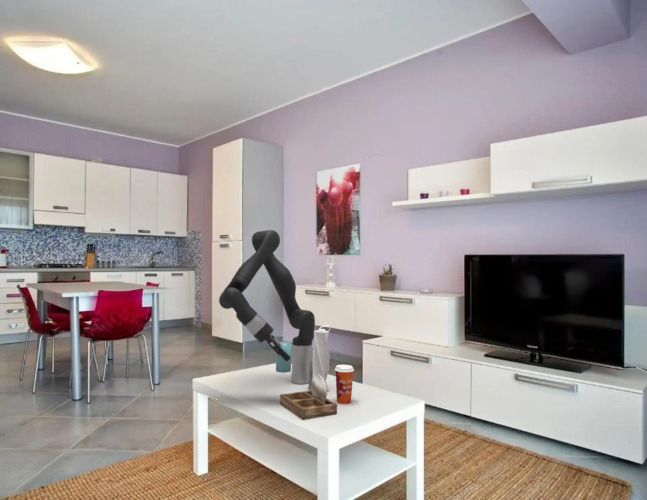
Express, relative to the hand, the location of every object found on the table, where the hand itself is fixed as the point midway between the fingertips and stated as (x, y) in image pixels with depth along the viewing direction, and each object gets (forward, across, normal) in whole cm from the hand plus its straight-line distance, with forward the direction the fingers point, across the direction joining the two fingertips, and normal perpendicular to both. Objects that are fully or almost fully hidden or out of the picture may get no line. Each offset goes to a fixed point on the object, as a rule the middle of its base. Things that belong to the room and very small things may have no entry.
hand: (288, 357), depth 177 cm
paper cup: (+28, -3, -4) cm, 29 cm away
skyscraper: (+23, +14, +1) cm, 27 cm away
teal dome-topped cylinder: (+2, 0, +5) cm, 5 cm away
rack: (+17, -10, +7) cm, 21 cm away
